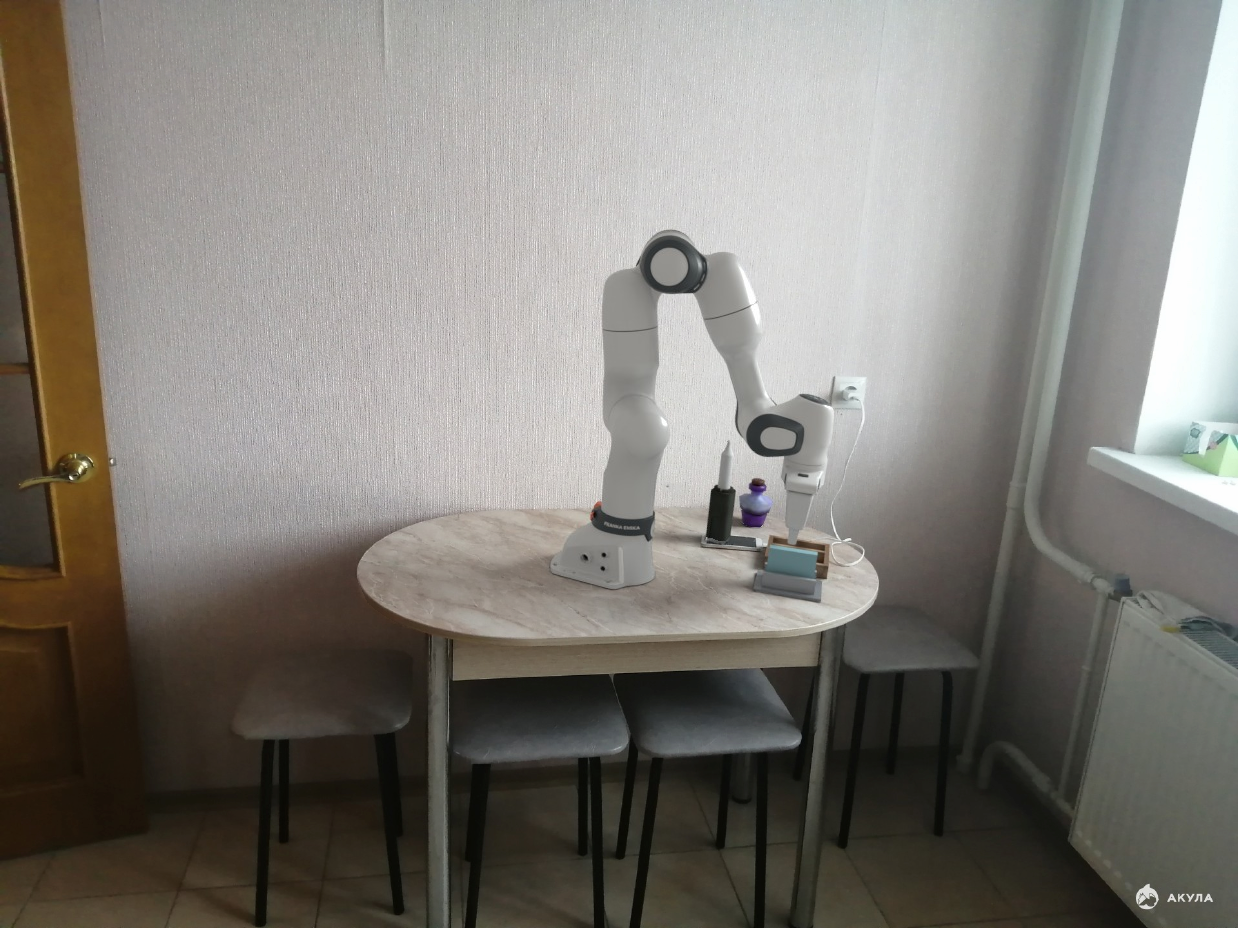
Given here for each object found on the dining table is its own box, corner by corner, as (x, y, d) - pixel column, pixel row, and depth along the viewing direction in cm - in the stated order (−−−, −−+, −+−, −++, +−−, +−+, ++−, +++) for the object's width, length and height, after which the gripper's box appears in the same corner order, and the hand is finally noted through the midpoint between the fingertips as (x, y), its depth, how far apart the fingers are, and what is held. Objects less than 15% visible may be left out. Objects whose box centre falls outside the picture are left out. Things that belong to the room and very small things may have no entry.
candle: (731, 539, 214) (743, 440, 207) (723, 545, 210) (735, 444, 202) (711, 534, 216) (723, 435, 209) (703, 540, 212) (715, 440, 205)
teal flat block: (764, 582, 189) (769, 547, 187) (765, 578, 191) (770, 544, 189) (812, 590, 187) (817, 555, 185) (812, 586, 189) (817, 551, 187)
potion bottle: (770, 521, 229) (776, 477, 225) (768, 532, 221) (774, 486, 217) (737, 516, 230) (743, 472, 227) (734, 527, 222) (739, 481, 219)
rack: (763, 568, 198) (764, 556, 197) (768, 546, 211) (769, 534, 211) (826, 578, 195) (828, 566, 195) (827, 555, 208) (829, 544, 208)
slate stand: (753, 590, 186) (755, 575, 185) (757, 572, 196) (759, 557, 195) (820, 602, 183) (823, 586, 182) (821, 583, 193) (824, 568, 192)
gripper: (790, 458, 193) (780, 517, 197) (785, 484, 173) (774, 549, 177) (820, 462, 191) (809, 522, 195) (817, 489, 172) (806, 555, 176)
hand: (792, 535), depth 186 cm, fingers open, 8 cm apart
